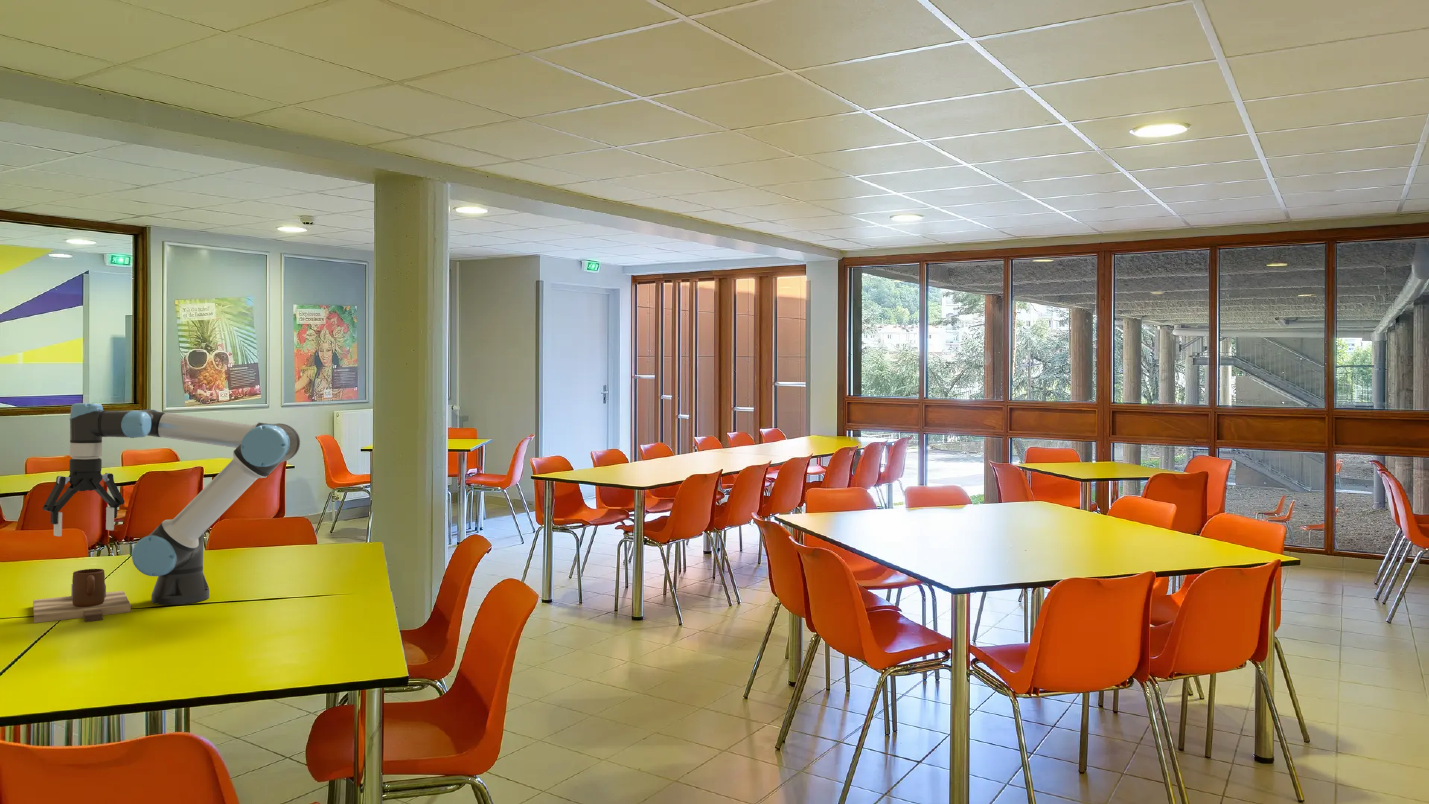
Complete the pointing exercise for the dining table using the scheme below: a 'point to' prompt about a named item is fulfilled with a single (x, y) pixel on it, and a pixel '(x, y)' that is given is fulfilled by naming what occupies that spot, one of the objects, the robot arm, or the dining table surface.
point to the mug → (88, 587)
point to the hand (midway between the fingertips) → (84, 532)
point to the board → (79, 608)
